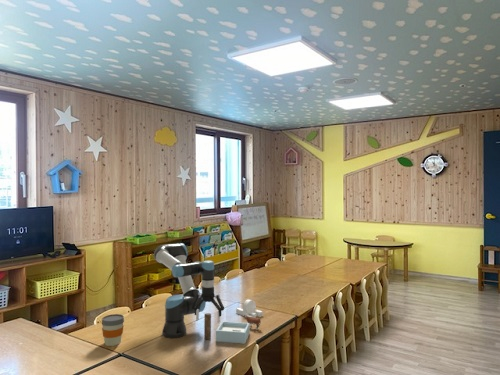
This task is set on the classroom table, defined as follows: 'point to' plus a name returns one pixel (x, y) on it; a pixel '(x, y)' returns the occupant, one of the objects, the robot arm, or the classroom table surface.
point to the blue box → (232, 332)
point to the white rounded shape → (249, 309)
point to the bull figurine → (253, 320)
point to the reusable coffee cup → (112, 329)
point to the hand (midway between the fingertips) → (207, 321)
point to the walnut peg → (207, 326)
